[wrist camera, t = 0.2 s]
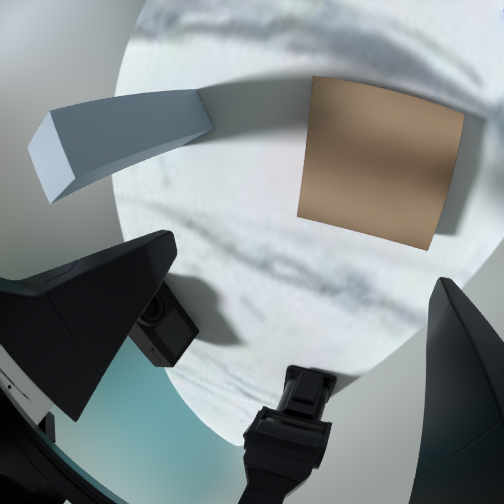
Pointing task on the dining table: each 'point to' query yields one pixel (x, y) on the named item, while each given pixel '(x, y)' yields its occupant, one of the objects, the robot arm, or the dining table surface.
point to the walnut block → (377, 161)
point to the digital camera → (163, 329)
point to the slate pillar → (112, 136)
